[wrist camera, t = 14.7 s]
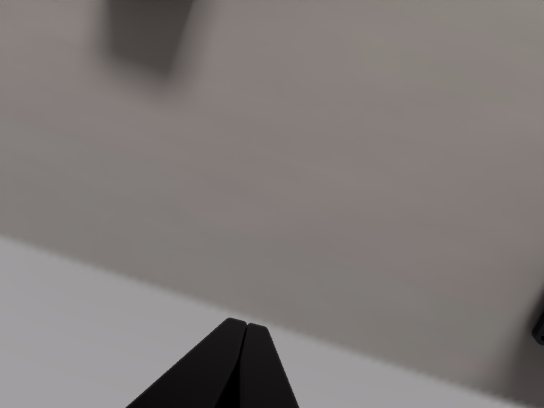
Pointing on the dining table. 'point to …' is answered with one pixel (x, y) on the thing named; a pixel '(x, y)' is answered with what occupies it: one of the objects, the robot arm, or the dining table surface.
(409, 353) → the dining table surface
